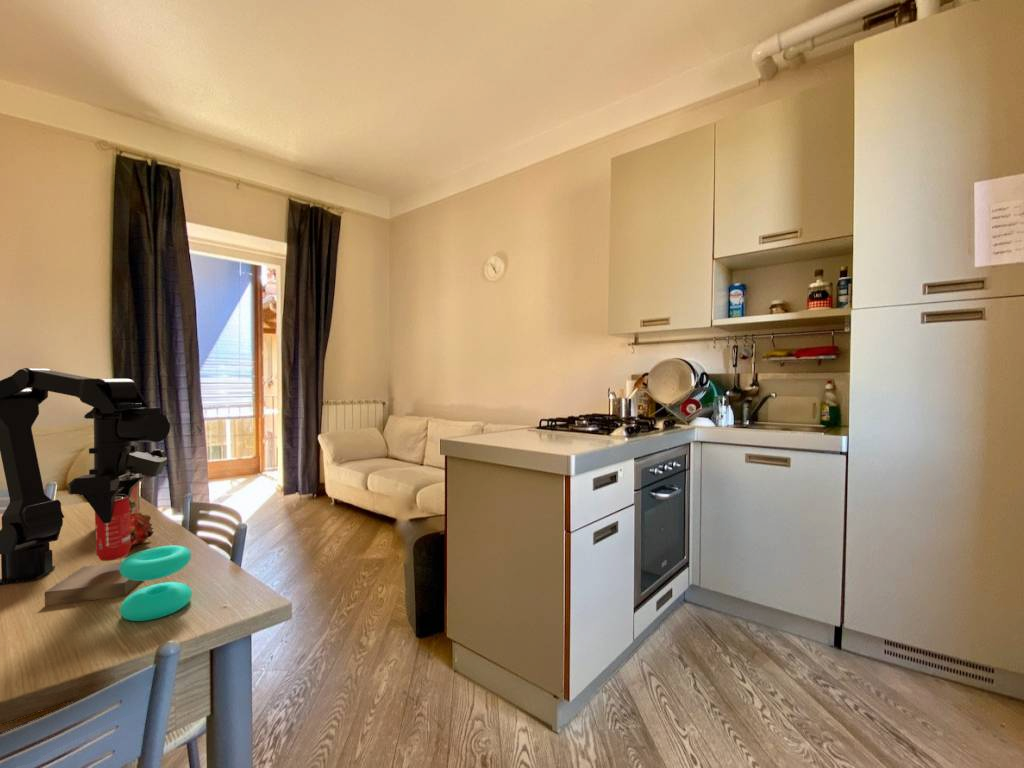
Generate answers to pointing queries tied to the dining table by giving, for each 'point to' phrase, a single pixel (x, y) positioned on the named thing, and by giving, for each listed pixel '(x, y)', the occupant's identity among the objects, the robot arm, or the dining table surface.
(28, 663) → the dining table surface
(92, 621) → the dining table surface
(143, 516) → the dragon fruit
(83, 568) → the walnut plinth
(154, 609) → the donuts
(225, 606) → the dining table surface
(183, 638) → the dining table surface
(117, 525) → the beverage can
